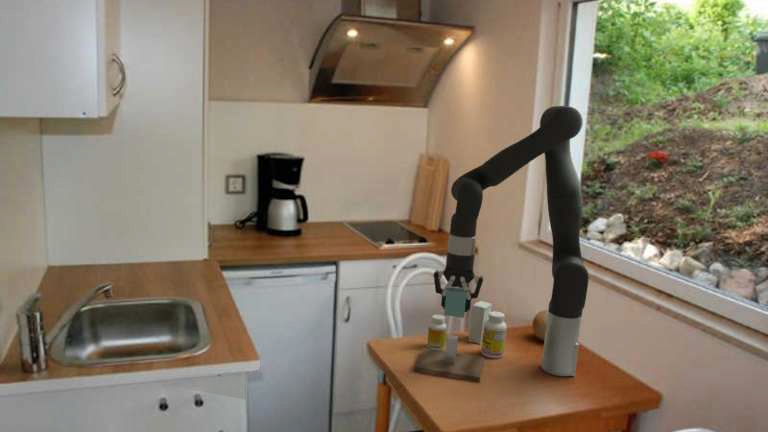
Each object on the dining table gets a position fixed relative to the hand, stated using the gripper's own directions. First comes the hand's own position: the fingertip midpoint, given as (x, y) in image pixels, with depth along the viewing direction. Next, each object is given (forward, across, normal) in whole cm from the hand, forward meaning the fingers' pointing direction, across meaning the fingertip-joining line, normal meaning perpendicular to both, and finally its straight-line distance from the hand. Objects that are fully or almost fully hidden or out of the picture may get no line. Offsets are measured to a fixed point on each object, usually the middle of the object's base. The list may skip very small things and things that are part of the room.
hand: (455, 309), depth 179 cm
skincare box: (+17, -6, -24) cm, 30 cm away
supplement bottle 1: (+17, +6, -13) cm, 23 cm away
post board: (+17, 0, 0) cm, 17 cm away
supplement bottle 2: (+17, -11, -14) cm, 25 cm away
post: (+16, 0, 0) cm, 16 cm away
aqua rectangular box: (+1, 0, 0) cm, 1 cm away
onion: (+17, -27, -33) cm, 46 cm away
